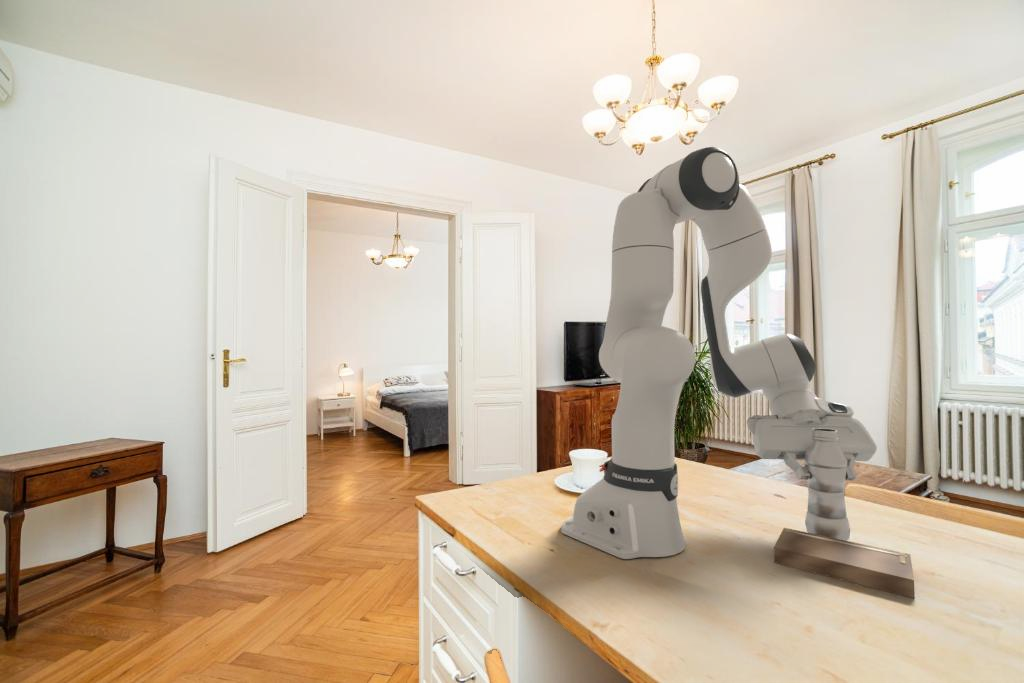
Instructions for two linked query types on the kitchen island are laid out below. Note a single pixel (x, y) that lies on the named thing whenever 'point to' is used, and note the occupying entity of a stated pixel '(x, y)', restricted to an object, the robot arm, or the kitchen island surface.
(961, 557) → the kitchen island surface
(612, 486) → the robot arm
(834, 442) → the plastic bottle
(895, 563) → the walnut board
